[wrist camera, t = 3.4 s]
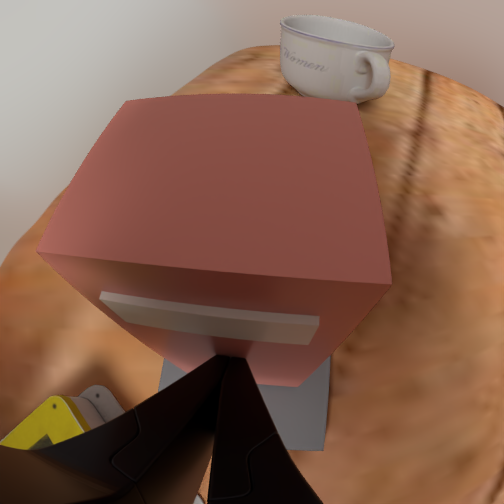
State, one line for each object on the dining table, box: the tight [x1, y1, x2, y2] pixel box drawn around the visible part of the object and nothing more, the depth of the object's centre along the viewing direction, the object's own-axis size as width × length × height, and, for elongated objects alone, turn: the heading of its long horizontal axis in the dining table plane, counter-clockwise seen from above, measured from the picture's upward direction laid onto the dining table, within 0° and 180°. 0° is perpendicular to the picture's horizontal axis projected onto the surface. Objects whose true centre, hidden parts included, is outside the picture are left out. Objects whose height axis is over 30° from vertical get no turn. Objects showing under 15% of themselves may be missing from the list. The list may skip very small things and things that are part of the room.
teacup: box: [280, 15, 394, 104], centre depth 24 cm, size 14×11×8 cm
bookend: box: [158, 355, 331, 451], centre depth 13 cm, size 13×8×7 cm, turn 173°
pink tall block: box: [36, 94, 392, 387], centre depth 9 cm, size 4×5×11 cm
